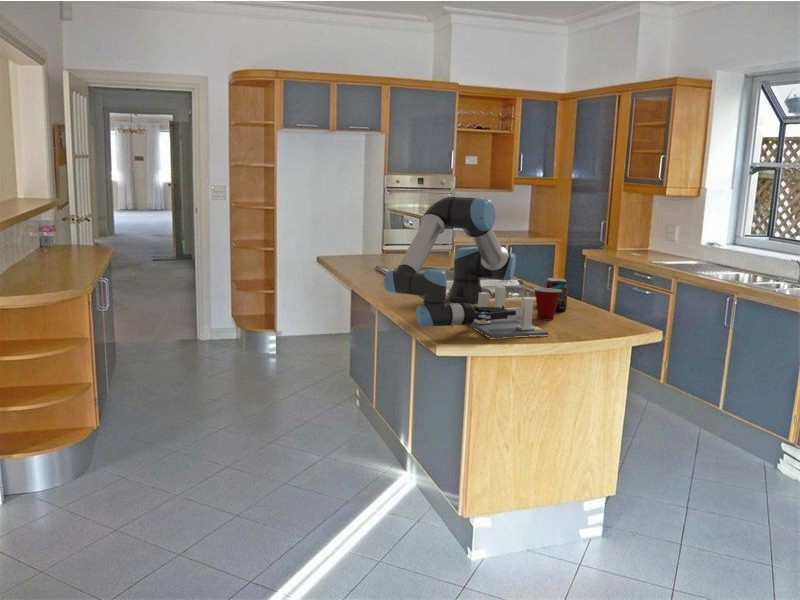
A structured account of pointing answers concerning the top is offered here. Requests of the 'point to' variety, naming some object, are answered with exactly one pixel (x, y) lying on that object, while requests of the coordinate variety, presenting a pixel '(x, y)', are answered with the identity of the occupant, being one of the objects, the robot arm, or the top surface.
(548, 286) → the canned food
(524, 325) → the slider
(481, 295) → the slider
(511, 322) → the grey base board
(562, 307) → the beverage can
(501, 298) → the slider
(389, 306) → the top surface
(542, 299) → the plastic cup
